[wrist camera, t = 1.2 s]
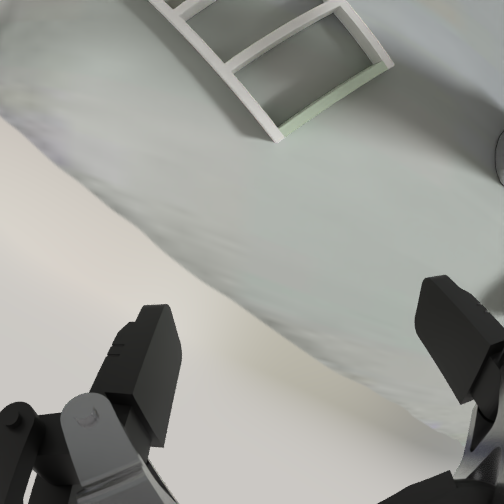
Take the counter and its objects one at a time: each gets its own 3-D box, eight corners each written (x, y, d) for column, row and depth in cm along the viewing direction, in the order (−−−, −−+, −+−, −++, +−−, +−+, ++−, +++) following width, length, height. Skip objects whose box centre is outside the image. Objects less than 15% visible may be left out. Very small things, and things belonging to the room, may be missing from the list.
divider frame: (240, -82, 18) (240, -93, 15) (384, 68, 26) (395, 65, 24) (130, -16, 21) (122, -24, 19) (273, 142, 29) (276, 143, 27)
